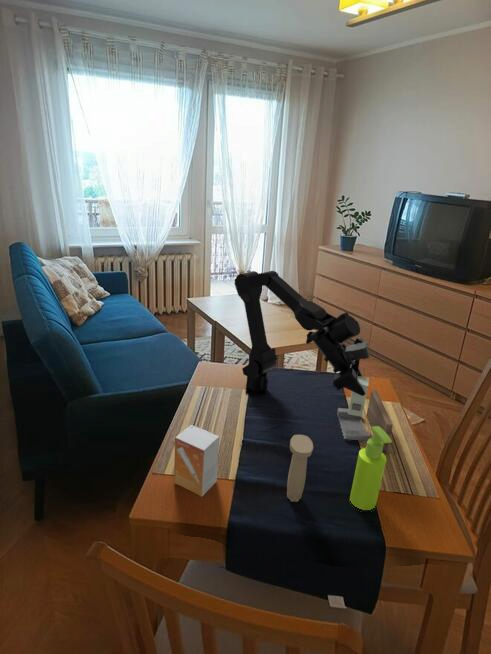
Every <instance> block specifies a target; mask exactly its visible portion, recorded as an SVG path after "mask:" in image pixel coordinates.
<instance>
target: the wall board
mask: <svg viewBox="0 0 491 654" xmlns="http://www.w3.org/2000/svg"><path fill="white" fill-rule="evenodd" d="M368 401H369V402H368V406H367V411H366V418H367V421H368V424H369V426H370V428H371V427H374V426H379V427H380V428H382V429H383V430H384V431H385V432H386V433H387V435H388V436H389V437H390V438H391V434H392V431H393V426H394V424H393V422H392V420H391V418H390V415H389V414H388V412H387V409H386V407H385V405H384V403H383V401H382V398H381V397H380V394H379V392H378V390H373V389H372V390H371V392H370V397H369V400H368ZM371 431H372V430H371ZM373 433H374V432H373V431H372V434H373ZM382 453H383V454H384V453H385V454H393V453H394V451H393V448H392V445H391V443H383V450H382Z"/></svg>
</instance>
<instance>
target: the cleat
mask: <svg viewBox="0 0 491 654" xmlns="http://www.w3.org/2000/svg"><path fill="white" fill-rule="evenodd" d="M336 415H337V418H339V419H338V422H340V423H339V426H340V425H341V426H340V430H341V429H342V430H341V433H343V434H342V437H343V436H344V437H343V440H344V439H349V440H348V441H351V440H358V441H357V442H362V441H365V443H367V441H368V439H370V438H371V433H370V432H369V431H366V428H365V426H364V422H363V420H362V417H359V416H355V415H350V414H348V408H343V407H342V408H341V407H337V412H336ZM350 439H351V440H350Z"/></svg>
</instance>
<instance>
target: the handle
mask: <svg viewBox="0 0 491 654" xmlns="http://www.w3.org/2000/svg"><path fill="white" fill-rule="evenodd" d="M313 443H314V442H313V441H312V439H311V438H310V437H309V436H307V435H305V434H294V435H293V436H292V437H291V439H290V440H289V450H290V452H291V453H292V455H291V461H290V465H289V470H288V475H287V487H286V488H287V489H286V490H287V492H286V497H287V498H288V499H289V500H290V502H292V503H293V502H296V503H298V502H299V500H300V499H301V498H302V496H303V492H304V488H305V484H306V478H307V466H308V458H309V457H311V455H312V453H313V451H314V444H313Z"/></svg>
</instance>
